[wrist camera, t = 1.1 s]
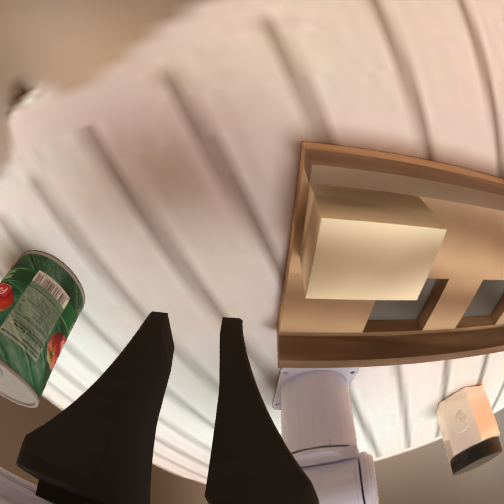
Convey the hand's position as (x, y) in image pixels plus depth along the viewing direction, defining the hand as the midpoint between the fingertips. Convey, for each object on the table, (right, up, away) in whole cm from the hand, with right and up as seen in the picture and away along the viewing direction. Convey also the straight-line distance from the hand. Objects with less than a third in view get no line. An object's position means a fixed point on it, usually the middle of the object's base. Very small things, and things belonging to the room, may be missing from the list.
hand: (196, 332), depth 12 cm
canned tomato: (-17, 0, +13) cm, 21 cm away
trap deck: (+18, +2, +11) cm, 21 cm away
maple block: (+9, +5, +7) cm, 12 cm away
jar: (+34, -20, +26) cm, 47 cm away
